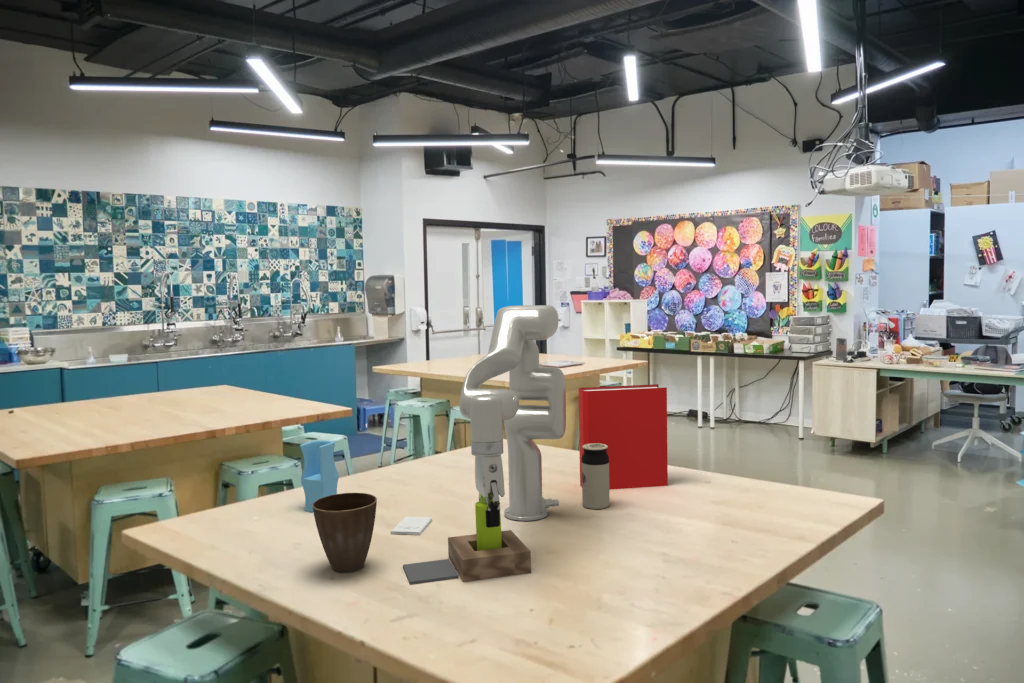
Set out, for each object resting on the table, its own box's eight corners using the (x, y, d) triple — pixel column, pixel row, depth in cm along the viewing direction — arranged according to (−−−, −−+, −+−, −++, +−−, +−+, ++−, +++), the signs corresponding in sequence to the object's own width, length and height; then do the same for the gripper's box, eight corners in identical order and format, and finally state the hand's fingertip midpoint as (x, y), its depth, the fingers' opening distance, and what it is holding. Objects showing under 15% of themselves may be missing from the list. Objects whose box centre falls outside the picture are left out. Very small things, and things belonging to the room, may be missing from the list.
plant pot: (348, 584, 170) (345, 514, 169) (301, 572, 178) (298, 505, 177) (392, 562, 183) (389, 497, 181) (347, 552, 190) (344, 489, 189)
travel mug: (609, 501, 228) (608, 442, 227) (610, 509, 220) (609, 448, 219) (582, 501, 229) (581, 443, 228) (582, 509, 221) (581, 448, 220)
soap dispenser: (507, 552, 182) (503, 470, 181) (497, 562, 176) (493, 478, 175) (484, 551, 184) (480, 469, 183) (473, 560, 178) (470, 476, 176)
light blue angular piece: (302, 511, 227) (299, 445, 225) (318, 503, 234) (315, 439, 232) (324, 513, 224) (321, 446, 222) (339, 506, 231) (337, 441, 230)
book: (659, 479, 253) (658, 384, 250) (667, 485, 245) (666, 387, 242) (579, 484, 249) (577, 387, 246) (585, 491, 241) (583, 391, 238)
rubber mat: (448, 561, 182) (448, 558, 182) (458, 577, 172) (458, 575, 172) (402, 567, 179) (402, 564, 179) (410, 584, 169) (409, 581, 169)
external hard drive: (432, 522, 214) (419, 537, 202) (404, 522, 216) (390, 536, 203) (432, 517, 214) (419, 531, 202) (404, 516, 216) (390, 530, 203)
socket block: (511, 549, 189) (511, 530, 189) (531, 572, 174) (530, 551, 174) (448, 557, 185) (447, 537, 185) (462, 581, 170) (462, 559, 169)
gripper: (512, 453, 170) (515, 531, 172) (493, 438, 187) (495, 510, 188) (480, 456, 168) (482, 535, 170) (463, 441, 185) (465, 513, 186)
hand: (489, 521), depth 179 cm, fingers closed on soap dispenser, 5 cm apart
